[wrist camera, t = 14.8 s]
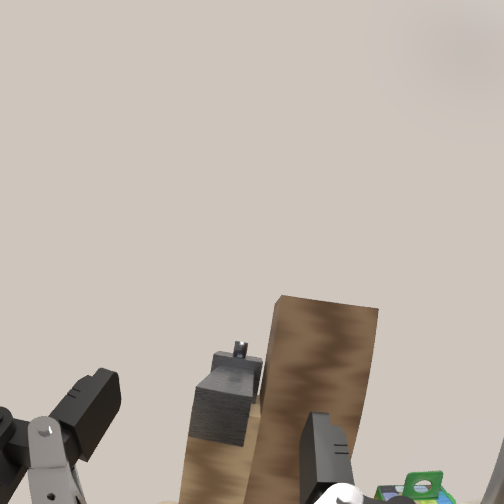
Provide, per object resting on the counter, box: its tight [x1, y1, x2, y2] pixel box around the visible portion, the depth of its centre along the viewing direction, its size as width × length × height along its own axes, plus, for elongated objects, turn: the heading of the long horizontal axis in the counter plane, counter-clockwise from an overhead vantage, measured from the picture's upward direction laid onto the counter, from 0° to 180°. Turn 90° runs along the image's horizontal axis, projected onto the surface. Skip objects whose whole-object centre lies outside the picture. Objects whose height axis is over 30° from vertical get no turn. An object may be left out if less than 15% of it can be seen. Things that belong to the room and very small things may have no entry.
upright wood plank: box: [179, 295, 379, 504], centre depth 29 cm, size 15×10×32 cm, turn 90°
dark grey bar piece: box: [188, 341, 263, 447], centre depth 27 cm, size 5×18×6 cm, turn 0°
